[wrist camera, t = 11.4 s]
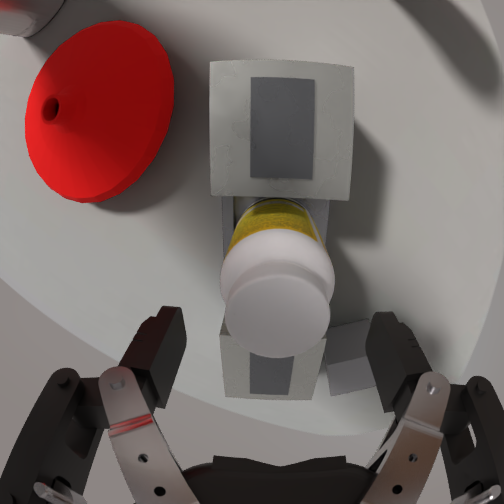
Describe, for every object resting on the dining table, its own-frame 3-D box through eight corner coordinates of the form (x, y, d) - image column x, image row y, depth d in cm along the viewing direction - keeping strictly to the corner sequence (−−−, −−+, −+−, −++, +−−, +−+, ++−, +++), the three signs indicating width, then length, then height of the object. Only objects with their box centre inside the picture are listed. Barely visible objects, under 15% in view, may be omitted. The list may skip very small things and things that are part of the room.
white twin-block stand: (225, 81, 18) (199, 53, 11) (332, 84, 17) (364, 59, 10) (231, 339, 28) (219, 401, 20) (309, 342, 27) (316, 404, 20)
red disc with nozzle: (152, 219, 23) (111, 252, 17) (35, 169, 22) (-12, 185, 15) (218, 45, 17) (193, 11, 10) (76, 27, 15) (30, 12, 9)
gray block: (320, 329, 26) (326, 365, 22) (367, 318, 26) (381, 352, 21) (325, 361, 28) (330, 396, 24) (368, 351, 27) (379, 384, 23)
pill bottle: (221, 231, 22) (178, 315, 12) (278, 177, 20) (282, 224, 10) (274, 281, 24) (272, 384, 13) (331, 235, 21) (372, 322, 11)
